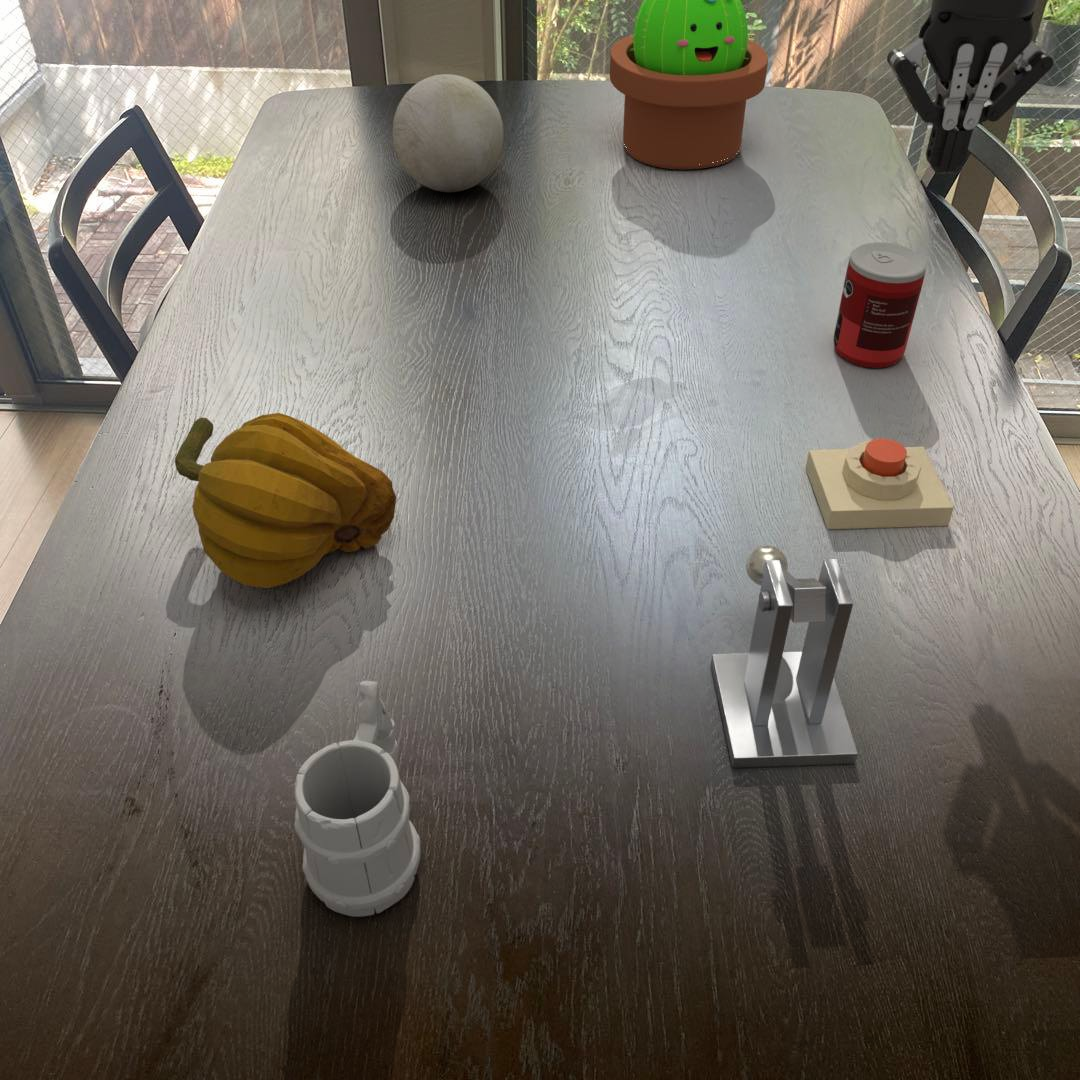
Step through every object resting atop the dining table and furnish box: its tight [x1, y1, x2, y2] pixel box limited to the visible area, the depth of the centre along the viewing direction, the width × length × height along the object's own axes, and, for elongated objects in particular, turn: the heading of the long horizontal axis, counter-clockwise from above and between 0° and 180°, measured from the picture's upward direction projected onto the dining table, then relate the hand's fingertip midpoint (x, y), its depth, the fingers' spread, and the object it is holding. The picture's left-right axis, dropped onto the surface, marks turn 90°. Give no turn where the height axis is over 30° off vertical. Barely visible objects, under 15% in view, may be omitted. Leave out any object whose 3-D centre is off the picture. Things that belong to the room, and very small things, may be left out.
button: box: [862, 437, 907, 477], centre depth 98 cm, size 4×4×2 cm
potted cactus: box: [609, 0, 769, 171], centre depth 153 cm, size 22×22×25 cm
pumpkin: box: [174, 412, 397, 589], centre depth 91 cm, size 14×16×20 cm
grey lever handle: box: [745, 545, 826, 624], centre depth 79 cm, size 14×3×3 cm
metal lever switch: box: [710, 557, 859, 769], centre depth 77 cm, size 10×9×14 cm
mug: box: [293, 680, 421, 918], centre depth 70 cm, size 8×12×12 cm, turn 172°
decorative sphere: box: [392, 73, 505, 193], centre depth 147 cm, size 15×15×15 cm
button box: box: [805, 440, 955, 530], centre depth 99 cm, size 11×9×4 cm
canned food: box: [833, 241, 927, 369], centre depth 116 cm, size 8×8×11 cm
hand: (942, 169), depth 90 cm, fingers closed
